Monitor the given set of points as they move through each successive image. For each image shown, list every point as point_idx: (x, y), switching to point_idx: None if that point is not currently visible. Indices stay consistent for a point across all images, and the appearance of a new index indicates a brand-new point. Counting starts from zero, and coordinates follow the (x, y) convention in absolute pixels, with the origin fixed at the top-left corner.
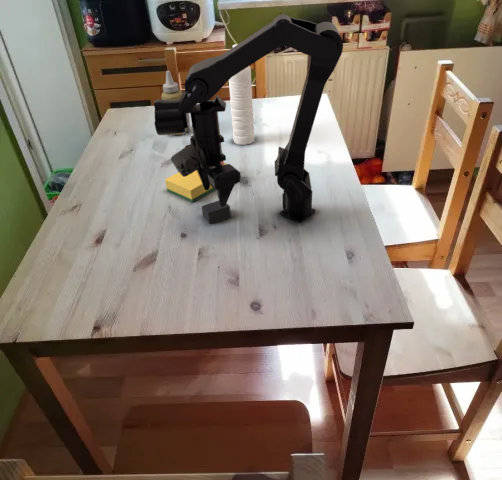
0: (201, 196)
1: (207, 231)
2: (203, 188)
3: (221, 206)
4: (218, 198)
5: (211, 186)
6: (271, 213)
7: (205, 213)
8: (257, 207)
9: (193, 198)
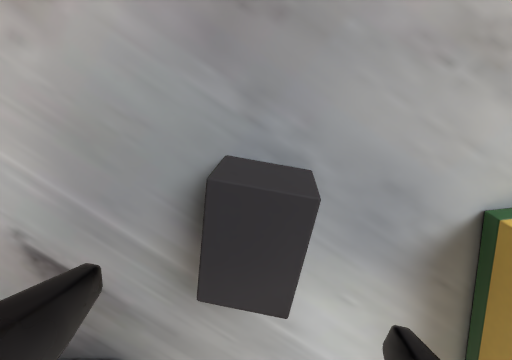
0: (480, 273)
1: (172, 106)
2: (509, 323)
3: (81, 265)
4: (13, 317)
5: (489, 353)
6: (145, 351)
7: (261, 176)
8: (209, 350)
9: (499, 232)
